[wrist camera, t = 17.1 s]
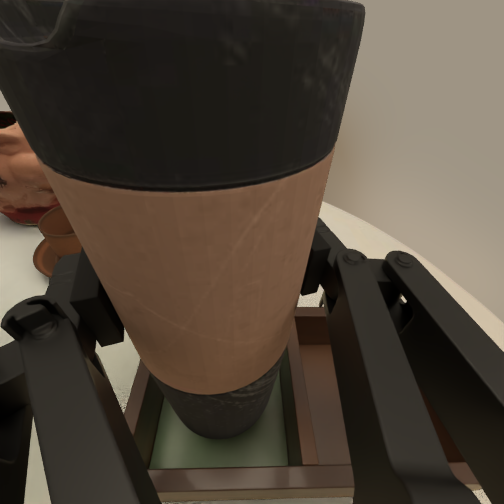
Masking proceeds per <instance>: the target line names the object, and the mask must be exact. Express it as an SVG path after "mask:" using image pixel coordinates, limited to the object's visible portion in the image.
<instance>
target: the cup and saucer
mask: <svg viewBox="0 0 504 504" xmlns="http://www.w3.org/2000/svg"><path fill="white" fill-rule="evenodd" d="M38 228H39V230H40V231H41V233H42V234H43V236H44V237H45V239H44V240H43V241H42V242H41V243H40V244H39V245H38V247H37V248H36V250H35V252H34V255H33V263H34V265H35V267H36V268H37V270H38V271H40V272H41V273H42V274H44V275H46V276H48V277H50V278H51V277H52V276H51V275H52V272H53V269H54V266H55V264H56V263H57V262H58V261H59V260H60V259H61V258H62V256H64V255H70V254H76V253H81V248H82V245H81V243H80V241H79V239H78V237H77V235H76V233H75V232H74V230H73V228H72V226H71V224H70V222H69V220H68V218H67V216H66V214H65V212H64V210H63V209H62V207H61V205H60V206H57V207H55V208H53V209H51V210H49V211H48V212H47V213H45V214H44V215H43V216H42V217H41V218H40V220H39V222H38Z"/></svg>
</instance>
